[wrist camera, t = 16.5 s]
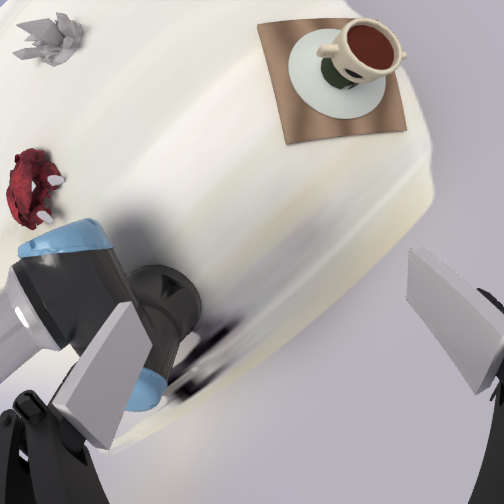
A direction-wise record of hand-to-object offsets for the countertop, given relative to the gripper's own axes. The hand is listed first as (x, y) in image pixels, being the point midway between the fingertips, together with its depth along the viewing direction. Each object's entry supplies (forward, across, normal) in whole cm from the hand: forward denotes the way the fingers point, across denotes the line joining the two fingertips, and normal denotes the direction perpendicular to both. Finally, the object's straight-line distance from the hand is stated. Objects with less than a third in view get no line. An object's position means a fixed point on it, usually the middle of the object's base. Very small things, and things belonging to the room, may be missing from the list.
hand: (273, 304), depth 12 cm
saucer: (+30, +15, +16) cm, 37 cm away
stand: (+32, +15, +16) cm, 39 cm away
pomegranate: (+32, -40, +12) cm, 53 cm away
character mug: (+29, +15, +16) cm, 37 cm away
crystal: (+32, -30, +39) cm, 59 cm away
